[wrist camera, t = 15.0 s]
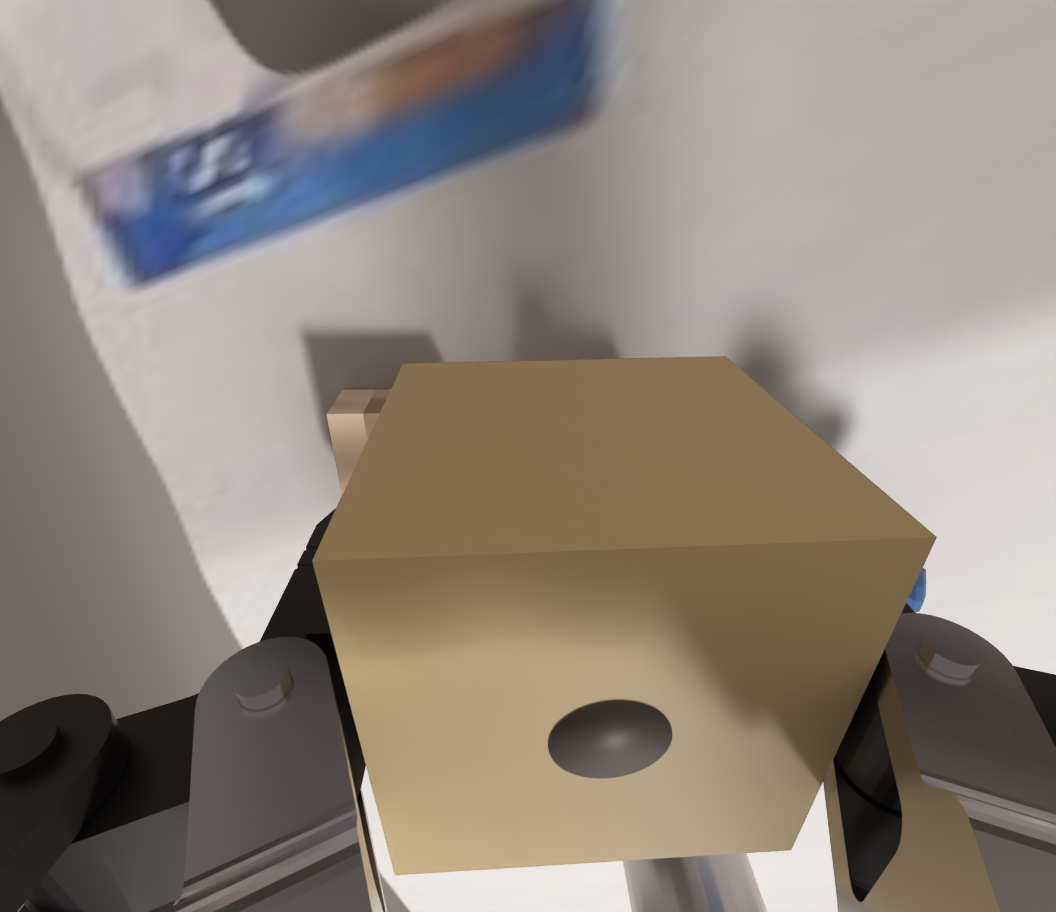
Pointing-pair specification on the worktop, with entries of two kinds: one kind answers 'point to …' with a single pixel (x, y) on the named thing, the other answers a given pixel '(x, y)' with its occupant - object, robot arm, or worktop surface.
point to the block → (603, 610)
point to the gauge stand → (353, 426)
